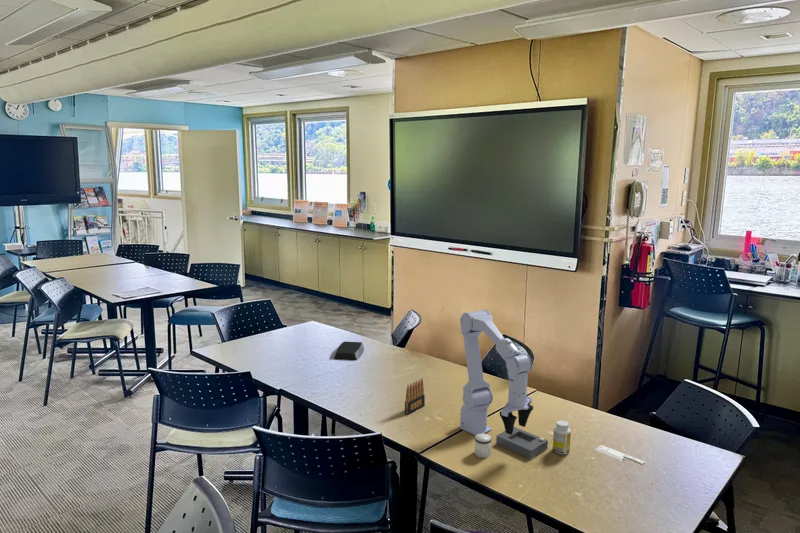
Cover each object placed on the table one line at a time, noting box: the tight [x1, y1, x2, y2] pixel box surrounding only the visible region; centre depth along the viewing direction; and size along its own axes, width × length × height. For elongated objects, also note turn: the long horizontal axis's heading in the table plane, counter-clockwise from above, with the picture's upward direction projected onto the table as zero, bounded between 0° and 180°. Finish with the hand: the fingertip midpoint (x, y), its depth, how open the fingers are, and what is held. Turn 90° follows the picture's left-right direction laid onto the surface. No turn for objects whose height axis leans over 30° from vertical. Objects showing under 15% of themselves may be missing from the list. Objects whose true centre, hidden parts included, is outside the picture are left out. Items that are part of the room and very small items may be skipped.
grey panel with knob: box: [495, 426, 549, 460], centre depth 188 cm, size 14×10×4 cm
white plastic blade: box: [595, 444, 645, 465], centre depth 182 cm, size 5×15×1 cm, turn 43°
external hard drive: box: [333, 341, 365, 361], centre depth 279 cm, size 13×19×4 cm
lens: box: [474, 433, 492, 459], centre depth 182 cm, size 5×5×6 cm
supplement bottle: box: [552, 420, 572, 455], centre depth 184 cm, size 6×6×10 cm
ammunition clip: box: [404, 377, 426, 416], centre depth 214 cm, size 11×2×12 cm, turn 141°
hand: (515, 429), depth 180 cm, fingers open, 7 cm apart
